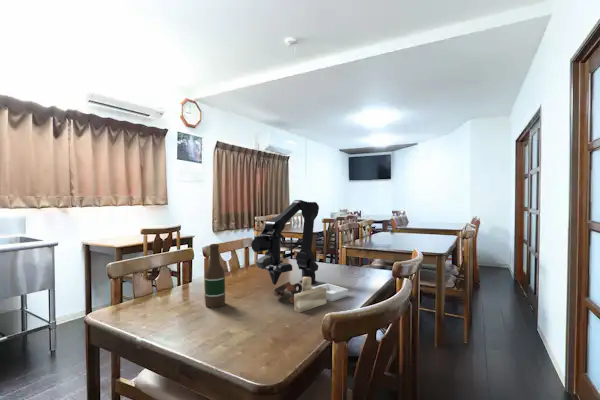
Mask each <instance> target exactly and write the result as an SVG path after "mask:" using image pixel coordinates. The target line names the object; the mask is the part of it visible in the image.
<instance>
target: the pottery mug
mask: <svg viewBox="0 0 600 400" xmlns="http://www.w3.org/2000/svg"><path fill="white" fill-rule="evenodd" d="M297 288H298V289H297ZM286 290H287V291H288V292H289V293H290V294H291V297H289V298H288V300H289V302H290V304H294V294H297V293H300V292H303V288H302V283H301V282H296V283H294V284H292V283H291V281H287V282H285V283H284V284H282V285H280V286H278V287H276V288H275V289H273V292H274V296H275V297H276V296H277V297H278V296H280V298H283V297H284V296H285V291H286Z"/></svg>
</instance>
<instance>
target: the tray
mask: <svg viewBox="0 0 600 400" xmlns="http://www.w3.org/2000/svg"><path fill="white" fill-rule="evenodd" d="M318 287H324V288H326V301H329V302H335V301H337V300H340V299H344V298H347V297H349V289H348V288H346V287H342V286H338V285H335V284H332V283H328V282H327V283H325V284H319V285H317V286H316V285H315V286H311V289H315V288H318Z"/></svg>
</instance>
